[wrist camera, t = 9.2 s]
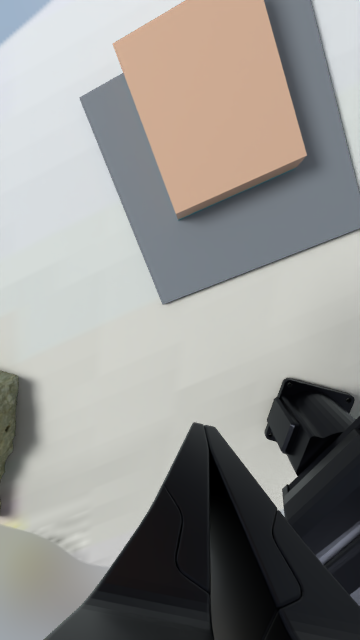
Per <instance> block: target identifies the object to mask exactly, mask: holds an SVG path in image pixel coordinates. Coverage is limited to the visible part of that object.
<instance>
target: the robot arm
mask: <svg viewBox="0 0 360 640" xmlns="http://www.w3.org/2000/svg"><path fill="white" fill-rule="evenodd" d="M289 382H290V383H291V384H290V385H289V386H287V383H289ZM347 398H349V399H348V400H347V401H346V399H347ZM353 403H354V397H353V396H351V395H350V394H348V393H344V392H341V391H337V390H333V389H329V388H325V387H321V386H318V385H314V384H310V383H306V382H302V381H298V380H294V379H291V378H286V379H284V380H283V382H282V385H281V388H280V391H279V393H278V396H277V397H276V398H275V399H274V402H273V404H272V407H271V410H270V413H269V415H268V418H267V422H268V424H267V427H266V429H265V436H266V438H267V439H269V440H272V441H276V442H277V443H278V445H279V447H280V449H281V451H282V453H284V454H287V456H288V458H289V460H290V462H291V464H292V466H293V468H294V470H295V472H296V474H297V476H298V477H297V478H296V479H295V480H294V481H293V482H292V483H291V484H290V485H288V484H287V485H286V486H285V487H284V488H283V489H282V492H283V503H284V505H283V506H284V513H285V517H284V516H283V515H282V514H281V512H280V511H279V510H277V507H276V506H275V505H274V503H273V502H272V501H271V499H270V498H269V497H268V495H267V494H266V493H265V492H264V490H263V489H262V488H261V486H260V485H259V484H258V482H257V481H256V480H255V479H254V477H253V476H252V475H251V473H250V472H249V471H248V469H247V468H246V467H245V465H244V464H243V463H242V462H241V460H240V459H239V458H238V456H237V455H236V454H235V452H234V451H233V450H232V449H231V447H230V446H229V445H228V443H227V442H226V441H225V439H224V438H223V437H222V436H221V434H220V433H219V432H218V430H217V429H216V428H215V427H213V426H209V425H203V424H199V423H195V422H194V423H193V424H192V426H191V428H190V430H189V432H188V434H187V436H186V438H185V440H184V442H183V444H182V446H181V448H180V450H179V452H178V454H177V456H176V458H175V460H174V462H173V464H172V466H171V468H170V470H169V472H168V474H167V476H166V478H165V480H164V482H163V484H162V486H161V488H160V490H159V492H158V494H157V496H156V498H155V500H154V502H153V504H152V505H151V507H150V509H149V511H148V512H147V514H146V516H145V517H144V519H143V520H142V522H141V523H140V525H139V527H138V528H137V530H136V531H135V533H134V534H133V535H132V537H131V538H130V540H129V541H128V543H127V544H126V546H125V547H124V548H123V550H122V551H121V553H120V554H119V556H118V557H117V559H116V560H115V562H114V563H113V564H112V566H111V567H110V569H109V570H108V572H107V573H106V574H105V576H104V577H103V579H102V580H101V581H100V583H99V584H98V585H97V587H96V588H95V589H94V591H93V592H92V593H91V594H90V596H89V597H88V598H87V599H86V600H85V601H84V603H83V604H82V605H81V606H80V607H79V608H78V609H77V610H76V611H74V613H72V614H71V615H70V616H69V617H68V618H67V619H66V620H65V621H63V622H62V623H61V624H60V625H59V626H58V627H57V628H56V629H55V630H54V631H52V633H50V634H49V635H48V636H47V637H46V638H45V639H44V640H360V416H359V417H358V418H357V419H354V418H353V417H352V416H351V415H350V414H349V413H350V410H351V408H352V406H353ZM270 433H272V434H271V435H269V434H270Z"/></svg>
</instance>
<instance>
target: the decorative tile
mask: <svg viewBox="0 0 360 640" xmlns="http://www.w3.org/2000/svg"><path fill="white" fill-rule="evenodd" d="M18 386H19V383H18V376H16V375H14V374H10V373H7V372H3V371H0V481H1V479H2V475H3V474H4V473H5V461H6V459H7V457H8V456H9V455H10V454H11V452H12V451H13V442H12V440H13V438H14V437H15V427H16V425H15V422H16V420H15V412H16V405H17V401H16V398H17V394H18ZM0 509H1V501H0Z"/></svg>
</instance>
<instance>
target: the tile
mask: <svg viewBox="0 0 360 640" xmlns="http://www.w3.org/2000/svg"><path fill="white" fill-rule="evenodd" d="M113 46H114V49H115V52H116V54H117V57H118V60H119V62H120V65H121V68H122V70H123V73H124V76H125V79H126V81H127V84H128V87H129V89H130V92H131V95H132V97H133V100H134V103H135V105H136V108H137V111H138V114H139V116H140V119H141V122H142V124H143V127H144V130H145V132H146V135H147V138H148V140H149V143H150V146H151V149H152V151H153V154H154V157H155V159H156V162H157V165H158V167H159V170H160V173H161V175H162V178H163V181H164V184H165V186H166V189H167V192H168V194H169V197H170V200H171V202H172V205H173V208H174V210H175V213H176V216H177V219H178V220H181V219H183V218H185V217H188V216H190V215H192V214H194V213H197V212H199V211H201V210H203V209H206V208H208V207H210V206H212V205H215V204H217V203H219V202H222V201H224V200H226V199H228V198H231V197H233V196H235V195H237V194H240V193H242V192H244V191H246V190H249V189H251V188H253V187H255V186H258V185H260V184H262V183H265V182H267V181H269V180H271V179H274V178H276V177H278V176H280V175H283V174H285V173H287V172H289V171H292V170H294V169H296V167H297V166H298V165H299V164H300V163H301V162H302V161H303V159H304V158H305V157H306V156H307V153H306V150H305V146H304V143H303V139H302V136H301V132H300V128H299V125H298V121H297V118H296V114H295V110H294V107H293V103H292V100H291V96H290V93H289V89H288V85H287V82H286V78H285V75H284V71H283V67H282V64H281V60H280V57H279V53H278V49H277V46H276V42H275V39H274V35H273V32H272V28H271V24H270V21H269V17H268V14H267V10H266V6H265V3H264V0H186V1H184V2H182V3H180V4H179V5H177V6H175V7H174V8H172V9H170V10H169V11H167V12H165V13H164V14H162V15H160V16H159V17H157V18H155V19H153V20H152V21H150V22H148V23H147V24H145V25H143V26H142V27H140V28H138V29H137V30H135V31H133V32H132V33H130V34H128V35H126V36H125V37H123V38H121V39H120V40H118V41H116V42H115V43H113Z"/></svg>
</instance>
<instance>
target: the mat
mask: <svg viewBox="0 0 360 640" xmlns="http://www.w3.org/2000/svg"><path fill="white" fill-rule="evenodd" d="M264 3H265V6H266V10H267V14H268V17H269V21H270V24H271V28H272V32H273V35H274V39H275V42H276V46H277V49H278V53H279V57H280V60H281V64H282V67H283V71H284V75H285V78H286V82H287V85H288V89H289V93H290V96H291V100H292V103H293V107H294V110H295V114H296V118H297V121H298V125H299V128H300V132H301V136H302V139H303V143H304V146H305V150H306V153H307V156H306V157H305V158H304V159H303V161H302V162H301V163H300V164H299V165H298V166H297V167H296V169H294V170H292V171H289V172H287V173H285V174H283V175H280V176H278V177H276V178H274V179H271V180H269V181H267V182H265V183H262V184H260V185H258V186H255V187H253V188H251V189H249V190H246V191H244V192H242V193H240V194H237V195H235V196H233V197H231V198H228V199H226V200H224V201H222V202H219V203H217V204H215V205H212V206H210V207H208V208H206V209H203V210H201V211H199V212H197V213H194V214H192V215H190V216H188V217H185V218H183V219H181V220H178V219H177V216H176V213H175V210H174V208H173V205H172V202H171V200H170V197H169V194H168V192H167V189H166V186H165V184H164V181H163V178H162V175H161V173H160V170H159V167H158V165H157V162H156V159H155V157H154V154H153V151H152V149H151V146H150V143H149V140H148V138H147V135H146V132H145V130H144V127H143V124H142V122H141V119H140V116H139V114H138V111H137V108H136V105H135V103H134V100H133V97H132V95H131V92H130V89H129V87H128V84H127V81H126V79H125V76H124V73H122V74H120V75H119V76H117V77H115V78H113V79H112V80H110V81H108V82H106V83H105V84H103V85H101V86H99V87H97V88H96V89H94V90H92V91H90V92H89V93H87V94H85V95H83V96H82V97H80V101H81V103H82V106H83V108H84V111H85V113H86V116H87V118H88V120H89V123H90V125H91V128H92V130H93V133H94V135H95V138H96V140H97V143H98V145H99V148H100V150H101V153H102V155H103V158H104V160H105V163H106V165H107V168H108V170H109V173H110V175H111V178H112V180H113V183H114V185H115V188H116V190H117V192H118V195H119V197H120V200H121V202H122V205H123V207H124V210H125V212H126V215H127V217H128V220H129V222H130V225H131V227H132V230H133V232H134V235H135V237H136V240H137V242H138V245H139V247H140V250H141V252H142V255H143V257H144V260H145V262H146V265H147V267H148V269H149V272H150V274H151V277H152V279H153V282H154V284H155V287H156V289H157V292H158V294H159V297H160V299H161V302H162V304H165V303H168V302H171V301H173V300H176V299H178V298H181V297H183V296H186V295H189V294H191V293H194V292H196V291H199V290H202V289H204V288H207V287H209V286H212V285H214V284H217V283H220V282H222V281H225V280H227V279H230V278H233V277H235V276H238V275H240V274H243V273H245V272H248V271H251V270H253V269H256V268H258V267H261V266H264V265H266V264H269V263H271V262H274V261H276V260H279V259H282V258H284V257H287V256H289V255H292V254H295V253H297V252H300V251H302V250H305V249H308V248H310V247H313V246H315V245H318V244H320V243H323V242H326V241H328V240H331V239H333V238H336V237H339V236H341V235H344V234H346V233H349V232H351V231H354V230H357V229H359V228H360V194H359V190H358V186H357V182H356V178H355V174H354V170H353V166H352V162H351V158H350V154H349V150H348V146H347V142H346V138H345V134H344V130H343V126H342V122H341V118H340V114H339V110H338V107H337V103H336V99H335V95H334V91H333V87H332V83H331V79H330V75H329V71H328V67H327V63H326V59H325V55H324V51H323V47H322V43H321V39H320V35H319V31H318V27H317V23H316V20H315V16H314V12H313V8H312V4H311V0H264Z"/></svg>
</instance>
